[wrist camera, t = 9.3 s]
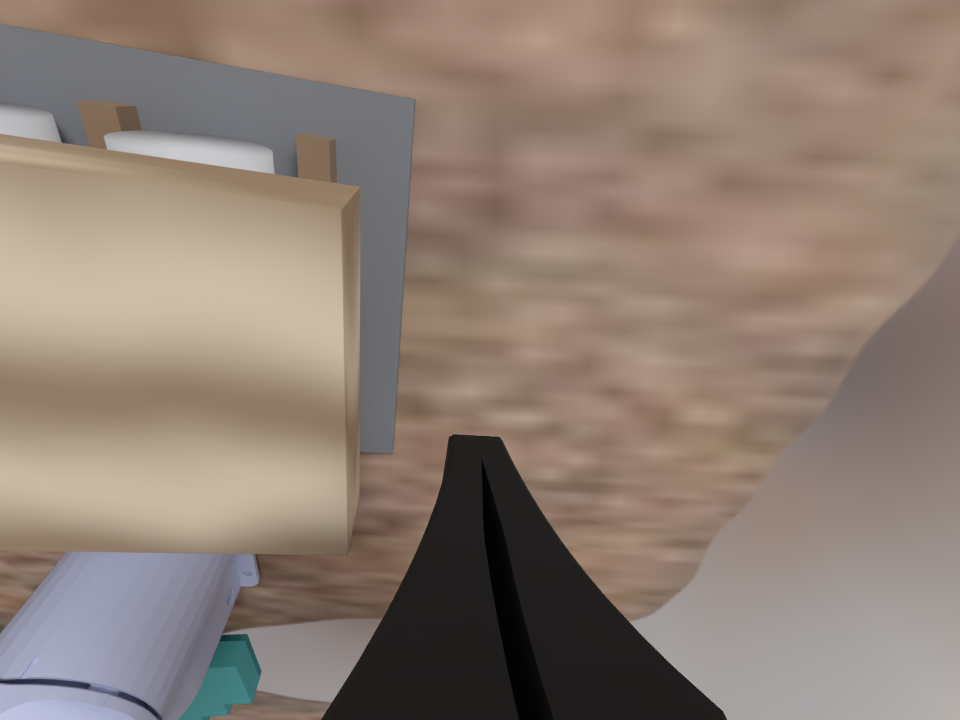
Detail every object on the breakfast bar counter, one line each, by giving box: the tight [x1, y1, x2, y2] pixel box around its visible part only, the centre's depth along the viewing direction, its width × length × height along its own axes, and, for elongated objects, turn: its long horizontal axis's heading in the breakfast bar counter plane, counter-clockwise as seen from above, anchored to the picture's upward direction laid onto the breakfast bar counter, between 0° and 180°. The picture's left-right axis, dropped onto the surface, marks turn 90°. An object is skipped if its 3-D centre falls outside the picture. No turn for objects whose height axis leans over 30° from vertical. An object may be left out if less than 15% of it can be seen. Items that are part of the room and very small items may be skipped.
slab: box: [0, 134, 361, 556], centre depth 12 cm, size 12×12×2 cm
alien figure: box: [178, 634, 262, 720], centre depth 32 cm, size 20×2×20 cm
